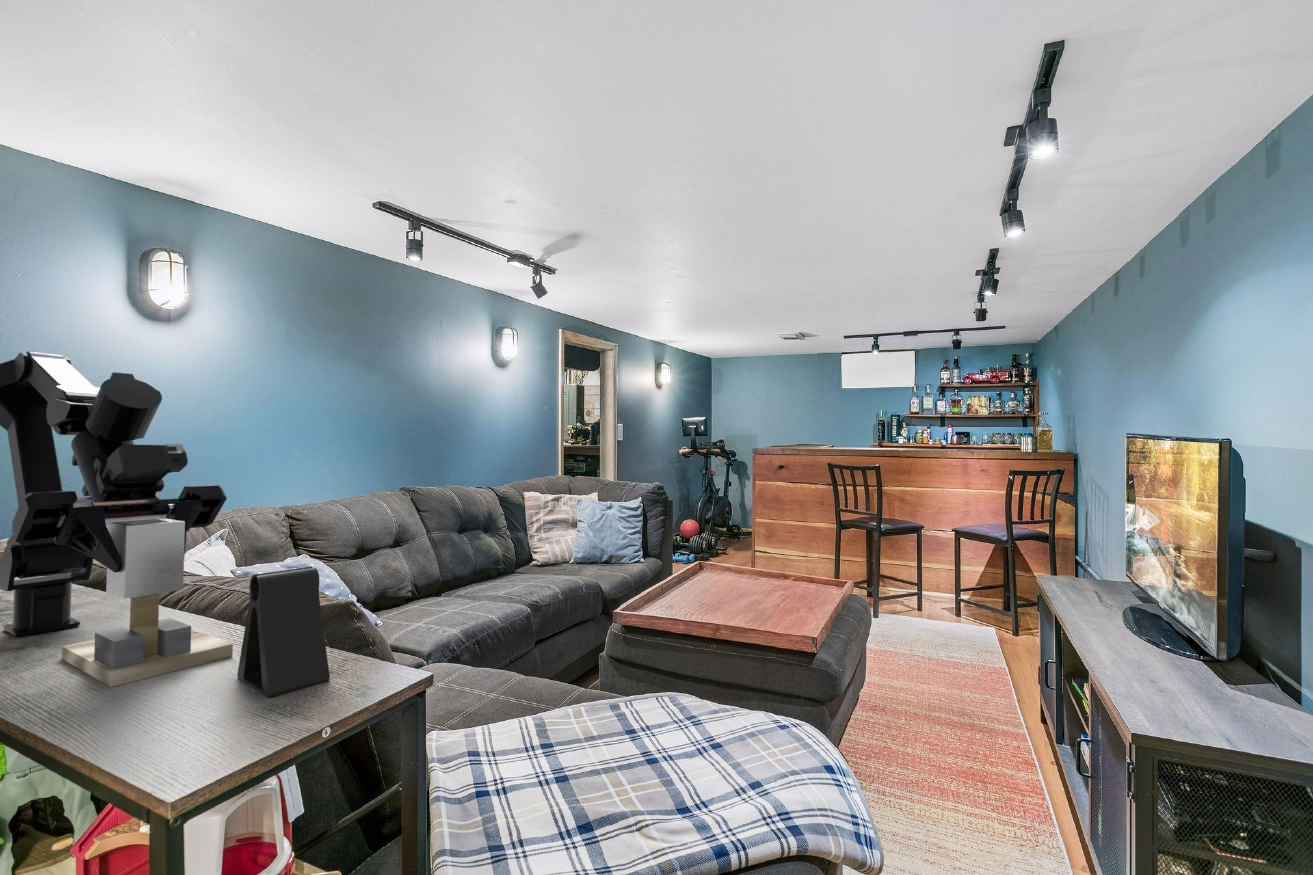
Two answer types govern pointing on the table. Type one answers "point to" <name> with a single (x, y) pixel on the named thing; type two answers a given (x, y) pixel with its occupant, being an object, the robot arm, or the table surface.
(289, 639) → the phone stand
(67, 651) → the board
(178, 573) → the steel sleeve
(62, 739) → the table surface
